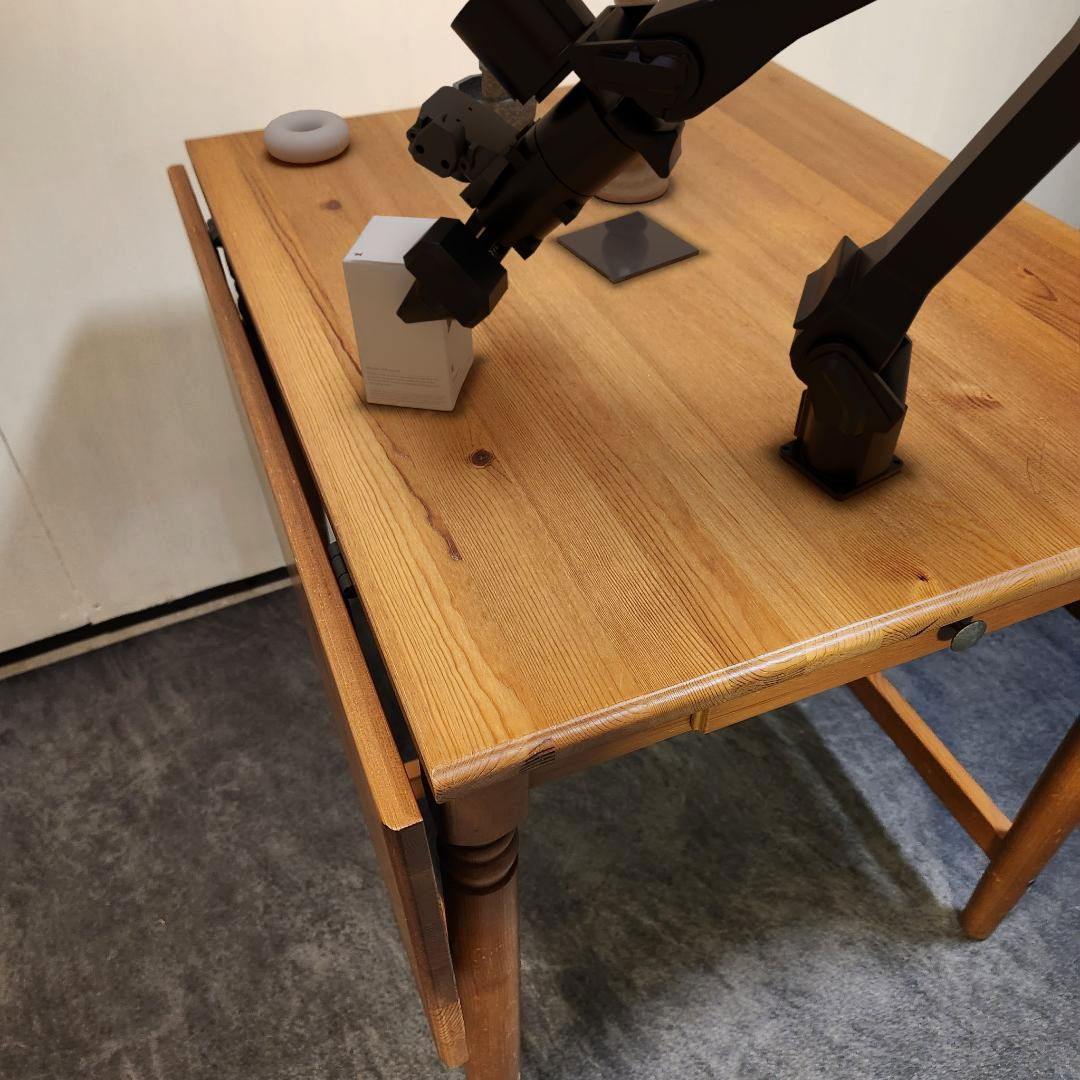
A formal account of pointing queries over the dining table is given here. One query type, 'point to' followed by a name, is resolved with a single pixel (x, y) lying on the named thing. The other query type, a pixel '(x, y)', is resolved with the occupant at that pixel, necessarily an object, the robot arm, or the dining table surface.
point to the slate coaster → (627, 246)
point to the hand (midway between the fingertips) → (427, 286)
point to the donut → (306, 136)
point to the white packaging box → (401, 323)
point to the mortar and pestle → (497, 98)
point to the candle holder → (634, 172)
